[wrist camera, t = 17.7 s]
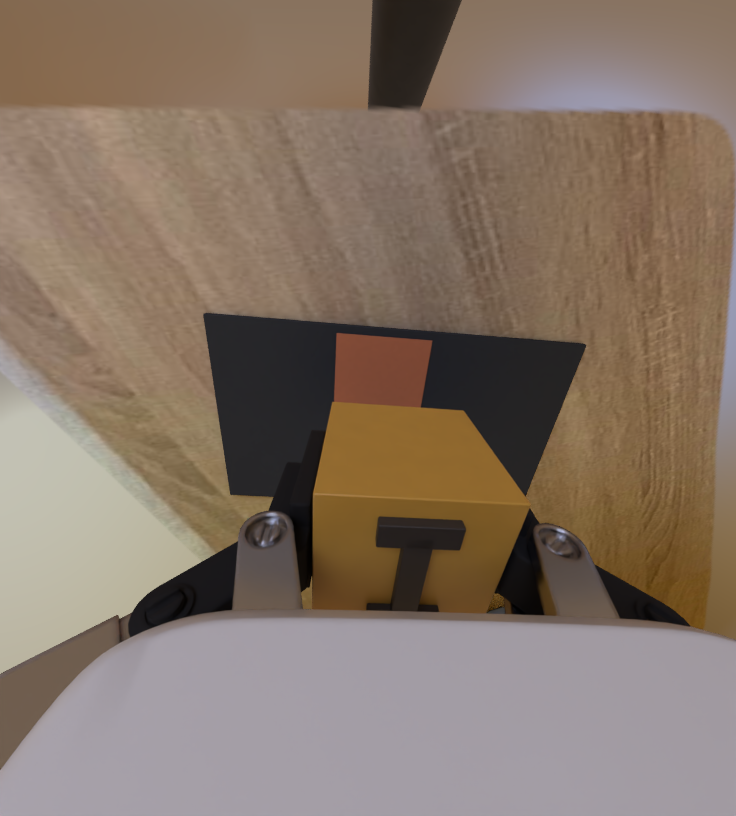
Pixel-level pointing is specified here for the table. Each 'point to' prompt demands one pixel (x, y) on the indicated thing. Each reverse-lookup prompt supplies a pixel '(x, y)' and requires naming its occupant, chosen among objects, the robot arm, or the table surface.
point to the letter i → (410, 512)
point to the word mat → (376, 387)
